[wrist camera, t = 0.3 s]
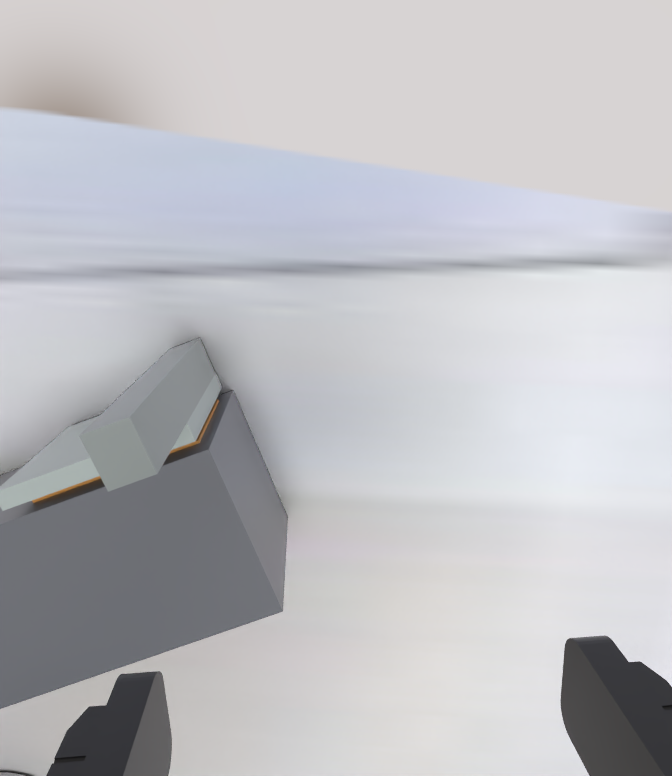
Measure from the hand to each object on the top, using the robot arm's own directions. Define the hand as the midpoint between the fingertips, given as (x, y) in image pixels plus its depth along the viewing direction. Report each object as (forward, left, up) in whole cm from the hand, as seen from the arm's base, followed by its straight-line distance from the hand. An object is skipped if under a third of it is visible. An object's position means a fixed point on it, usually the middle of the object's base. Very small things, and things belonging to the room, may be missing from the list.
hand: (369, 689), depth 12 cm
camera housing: (-15, +6, -27) cm, 31 cm away
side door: (-8, +9, -26) cm, 29 cm away
